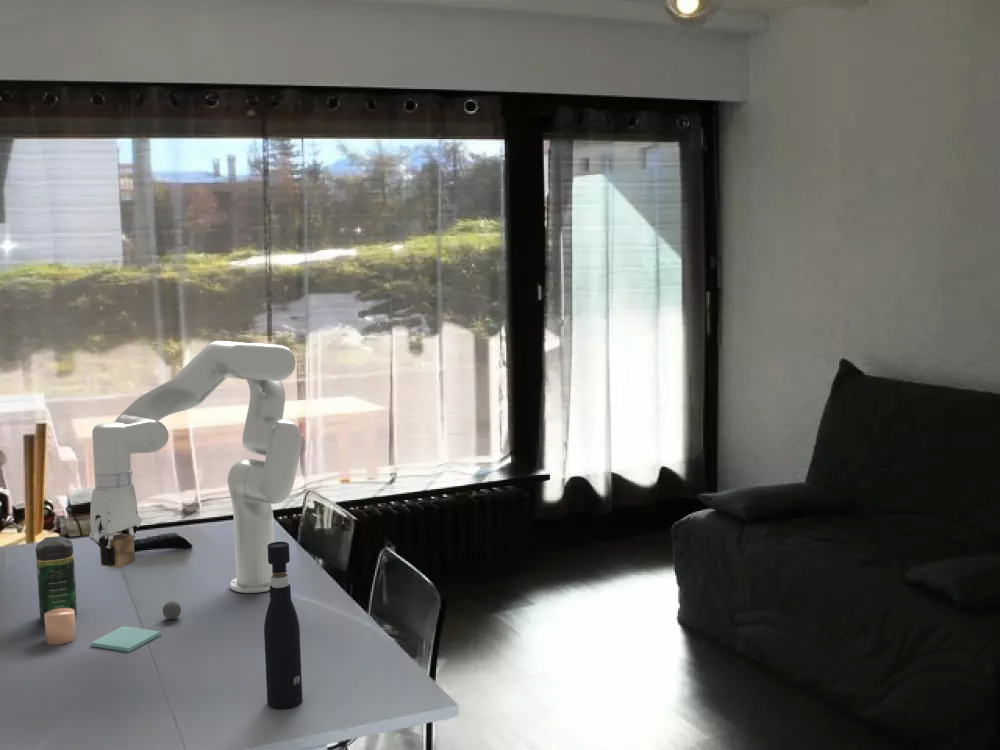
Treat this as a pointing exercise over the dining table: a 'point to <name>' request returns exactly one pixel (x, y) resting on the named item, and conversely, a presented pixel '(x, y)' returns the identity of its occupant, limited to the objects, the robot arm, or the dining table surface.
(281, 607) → the insulated water bottle
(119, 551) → the walnut block
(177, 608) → the rubber ball
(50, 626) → the beige rounded cylinder
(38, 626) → the dining table surface
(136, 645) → the coaster
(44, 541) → the coffee jar
